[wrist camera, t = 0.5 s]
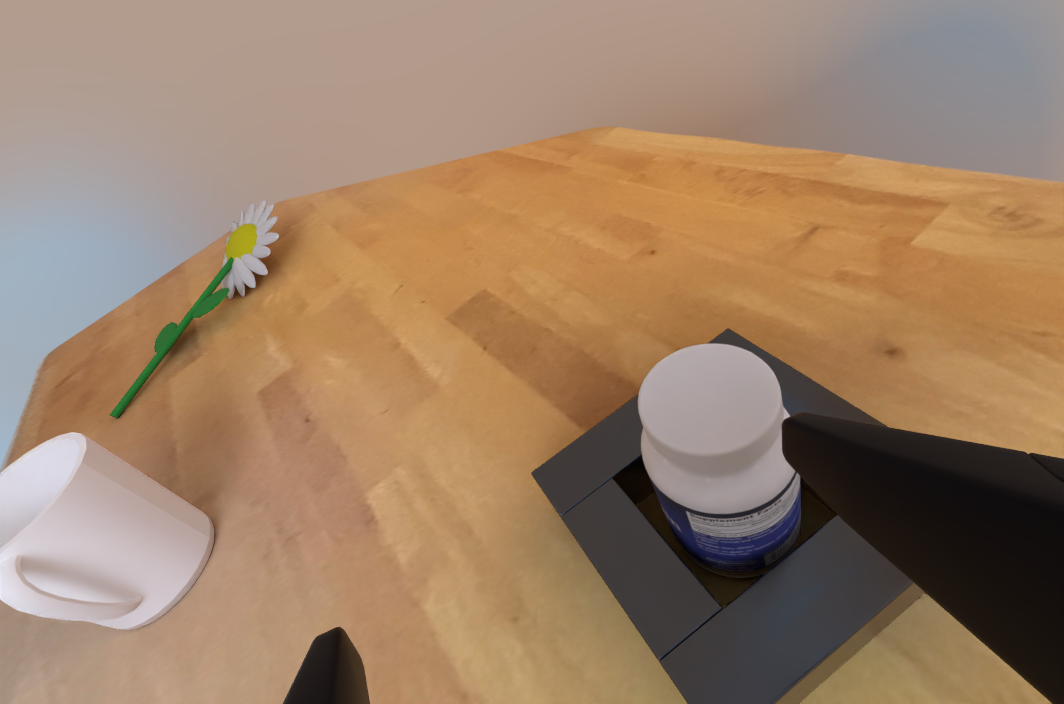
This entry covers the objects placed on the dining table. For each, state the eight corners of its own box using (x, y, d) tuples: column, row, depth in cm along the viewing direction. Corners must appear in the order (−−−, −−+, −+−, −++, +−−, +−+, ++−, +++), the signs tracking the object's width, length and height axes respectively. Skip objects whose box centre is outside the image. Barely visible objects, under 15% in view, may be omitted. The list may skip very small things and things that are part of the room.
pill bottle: (664, 472, 27) (619, 347, 20) (782, 459, 25) (775, 316, 18) (677, 586, 23) (626, 477, 16) (818, 580, 21) (826, 454, 14)
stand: (983, 541, 20) (1007, 500, 18) (730, 763, 18) (720, 750, 16) (734, 368, 29) (728, 327, 27) (552, 504, 28) (530, 472, 25)
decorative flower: (168, 434, 51) (316, 221, 65) (119, 412, 48) (286, 191, 61) (117, 424, 58) (261, 232, 72) (71, 403, 54) (231, 207, 68)
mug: (110, 563, 38) (-44, 499, 31) (217, 485, 39) (93, 407, 33) (96, 704, 30) (-115, 660, 23) (230, 598, 31) (71, 528, 25)
